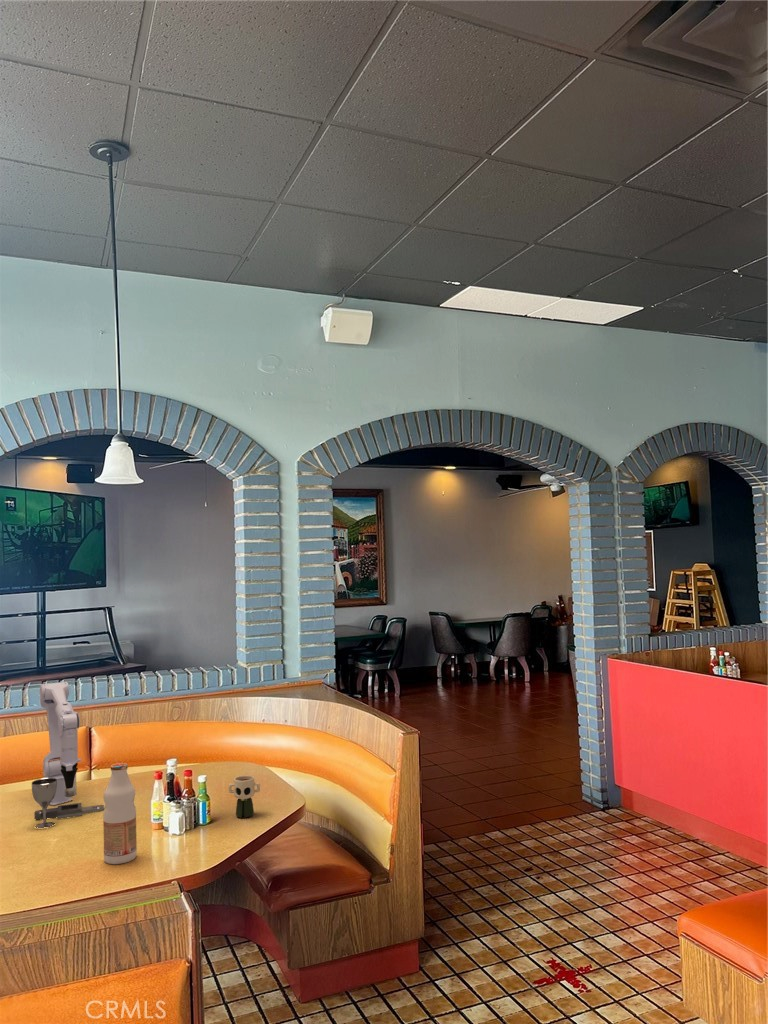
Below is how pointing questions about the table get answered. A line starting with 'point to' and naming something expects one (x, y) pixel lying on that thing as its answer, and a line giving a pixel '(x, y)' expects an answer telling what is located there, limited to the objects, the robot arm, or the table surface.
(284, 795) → the table surface
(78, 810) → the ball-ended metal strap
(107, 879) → the table surface
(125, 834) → the fruit juice
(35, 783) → the wine glass
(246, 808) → the character mug
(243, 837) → the table surface
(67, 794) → the steel pin
